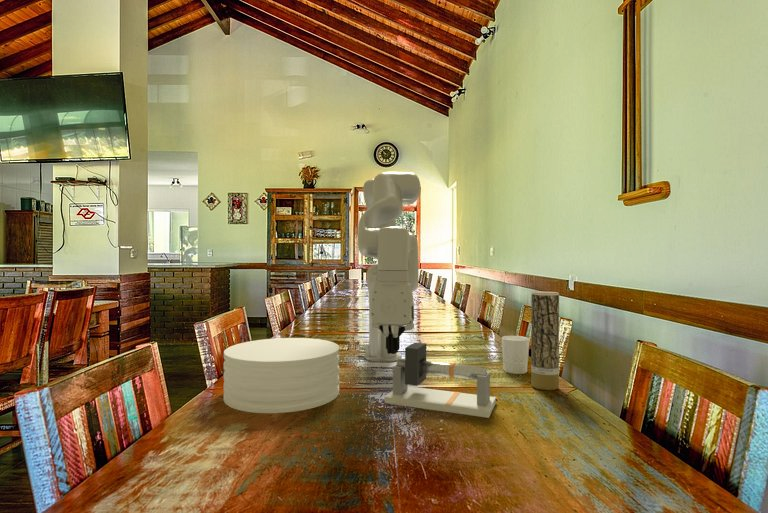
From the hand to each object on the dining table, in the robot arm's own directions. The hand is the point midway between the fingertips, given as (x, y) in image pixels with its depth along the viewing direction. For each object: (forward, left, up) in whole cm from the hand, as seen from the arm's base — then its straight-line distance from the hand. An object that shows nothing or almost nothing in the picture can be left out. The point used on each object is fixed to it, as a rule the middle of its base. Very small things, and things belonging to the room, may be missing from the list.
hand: (392, 352), depth 108 cm
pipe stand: (+12, 0, -11) cm, 16 cm away
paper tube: (+34, +23, -11) cm, 42 cm away
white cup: (+25, +37, -11) cm, 46 cm away
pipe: (+12, 0, -4) cm, 13 cm away
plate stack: (-26, -8, -11) cm, 30 cm away
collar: (+6, 0, -6) cm, 9 cm away
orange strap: (+15, 0, -9) cm, 18 cm away
